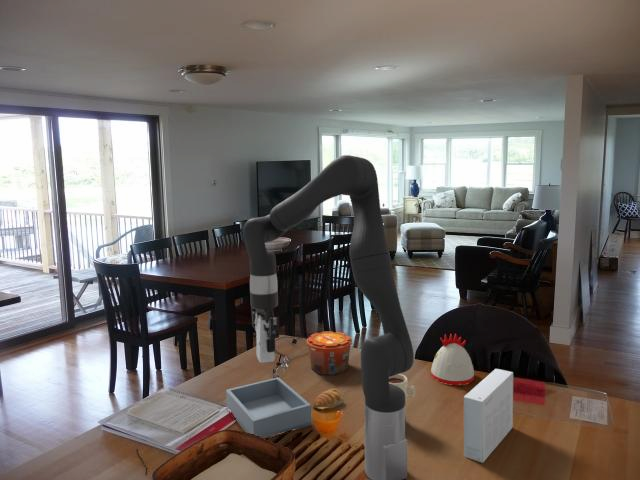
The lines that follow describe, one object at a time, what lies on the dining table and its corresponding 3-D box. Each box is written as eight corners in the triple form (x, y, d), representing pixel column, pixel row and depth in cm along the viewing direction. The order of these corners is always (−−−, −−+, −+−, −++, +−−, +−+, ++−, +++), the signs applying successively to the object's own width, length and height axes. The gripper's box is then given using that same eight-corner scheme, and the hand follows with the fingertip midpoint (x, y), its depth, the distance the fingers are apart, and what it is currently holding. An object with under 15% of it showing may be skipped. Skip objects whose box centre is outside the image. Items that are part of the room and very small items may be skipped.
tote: (311, 425, 143) (311, 404, 142) (254, 442, 135) (253, 421, 134) (279, 395, 161) (278, 377, 160) (226, 409, 153) (225, 389, 152)
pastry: (323, 414, 149) (323, 401, 149) (307, 406, 154) (307, 394, 154) (345, 403, 156) (345, 391, 155) (329, 396, 161) (329, 384, 160)
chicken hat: (428, 368, 180) (428, 326, 178) (468, 368, 180) (469, 326, 177) (435, 385, 166) (436, 341, 164) (478, 386, 166) (480, 341, 163)
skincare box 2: (493, 421, 144) (495, 367, 141) (513, 428, 140) (516, 372, 138) (461, 455, 128) (463, 395, 125) (482, 464, 124) (485, 402, 122)
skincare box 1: (256, 355, 147) (254, 314, 145) (271, 353, 149) (270, 312, 147) (260, 363, 141) (258, 321, 139) (276, 361, 143) (274, 319, 141)
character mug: (373, 426, 142) (373, 382, 140) (376, 414, 149) (376, 371, 147) (413, 431, 139) (414, 385, 137) (414, 418, 146) (415, 374, 144)
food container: (360, 364, 184) (360, 335, 183) (337, 380, 171) (337, 349, 169) (322, 355, 193) (321, 327, 191) (297, 370, 180) (297, 341, 178)
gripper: (287, 293, 137) (289, 353, 140) (265, 282, 150) (267, 337, 153) (261, 297, 134) (263, 358, 137) (241, 286, 146) (243, 342, 149)
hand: (265, 347), depth 145 cm, fingers closed on skincare box 1, 6 cm apart
